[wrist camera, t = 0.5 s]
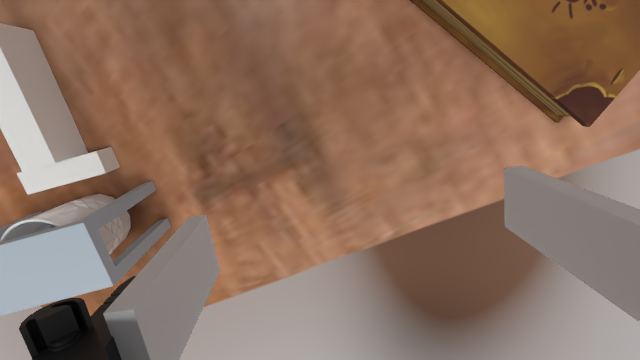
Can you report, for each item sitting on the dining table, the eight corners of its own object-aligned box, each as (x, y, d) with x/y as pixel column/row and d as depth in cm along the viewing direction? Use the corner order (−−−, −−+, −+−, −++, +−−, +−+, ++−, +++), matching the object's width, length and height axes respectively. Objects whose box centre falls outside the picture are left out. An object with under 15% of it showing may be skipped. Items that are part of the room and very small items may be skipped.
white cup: (55, 222, 42) (-19, 262, 32) (93, 175, 41) (27, 202, 31) (112, 261, 43) (56, 311, 34) (149, 217, 42) (103, 255, 33)
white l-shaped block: (-23, 46, 37) (-78, 39, 31) (58, 23, 36) (16, 12, 31) (47, 187, 41) (8, 201, 36) (120, 167, 41) (92, 179, 35)
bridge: (32, 213, 41) (-89, 269, 29) (152, 180, 41) (83, 222, 28) (55, 257, 43) (-51, 328, 30) (171, 226, 43) (113, 285, 30)
